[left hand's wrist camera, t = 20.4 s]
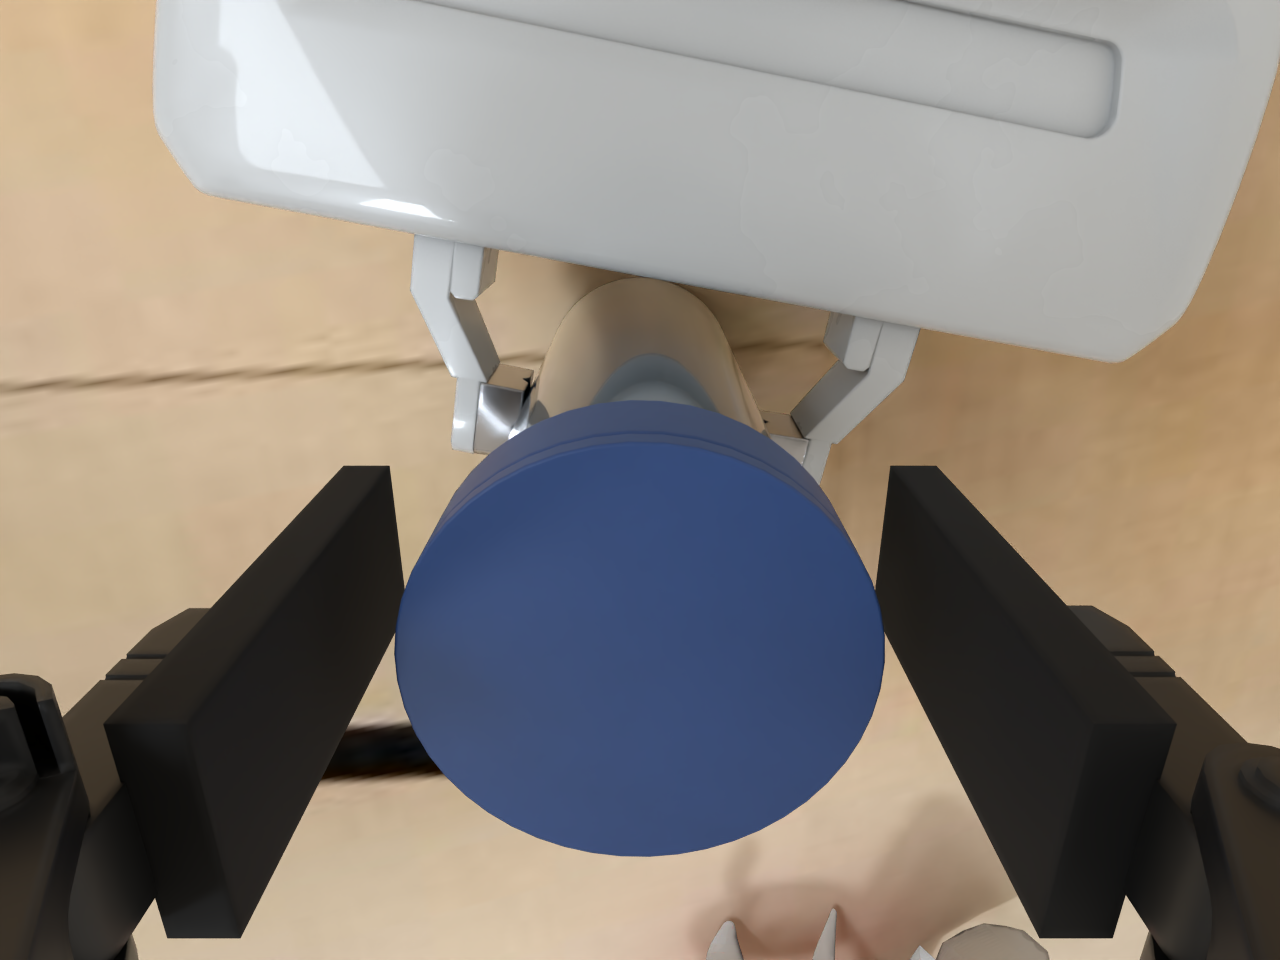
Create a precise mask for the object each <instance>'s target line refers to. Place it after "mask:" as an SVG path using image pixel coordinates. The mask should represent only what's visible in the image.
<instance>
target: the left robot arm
mask: <svg viewBox="0 0 1280 960" xmlns="http://www.w3.org/2000/svg"><path fill="white" fill-rule="evenodd" d="M404 591H405V588H404V580H403V572H402V564H401V555H400V547H399V539H398V531H397V523H396V515H395V507H394V498H393V490H392V482H391V474H390V466H343V467H342V468H341V469H340V470H339V471H338V473H337V474H336V475H335V476H334V477H333V478H332V479H331V480H330V481H329V482H328V483H327V484H326V485H325V486H324V488H323V489H322V490H321V491H320V492H319V493H318V494H317V495H316V496H315V497H314V498H313V499H312V500H311V501H310V503H309V504H308V505H307V506H306V507H305V508H304V509H303V510H302V511H301V512H300V513H299V514H298V515H297V516H296V517H295V519H294V520H293V521H292V522H291V523H290V524H289V525H288V526H287V527H286V528H285V529H284V530H283V531H282V532H281V534H280V535H279V536H278V537H277V538H276V539H275V540H274V541H273V542H272V543H271V544H270V545H269V546H268V547H267V549H266V550H265V551H264V552H263V553H262V554H261V555H260V556H259V557H258V558H257V559H256V560H255V561H254V562H253V564H252V565H251V566H250V567H249V568H248V569H247V570H246V571H245V572H244V573H243V574H242V575H241V576H240V577H239V579H238V580H237V581H236V582H235V583H234V584H233V585H232V586H231V587H230V588H229V589H228V590H227V591H226V592H225V594H224V595H223V596H222V597H221V598H220V599H219V600H218V601H217V602H216V603H215V604H214V605H213V606H212V607H211V608H189V609H187V610H185V611H183V612H182V613H180V614H178V615H176V616H175V617H173V618H171V619H169V620H168V621H166V622H164V623H162V624H161V625H159V626H157V627H155V628H154V629H152V630H151V631H150V632H149V633H148V634H147V635H146V636H145V637H144V638H143V639H142V640H141V641H140V642H139V643H138V644H137V645H136V646H135V647H133V648H132V649H131V650H130V651H129V652H128V653H127V658H126V659H121V660H120V661H119V662H118V663H117V664H116V665H115V666H114V667H113V668H112V669H111V670H110V671H109V672H108V673H107V674H106V679H105V680H100V681H99V682H98V683H97V684H96V685H95V686H94V687H93V688H92V689H91V690H90V691H89V692H88V693H87V694H86V695H85V696H84V697H83V698H82V699H81V700H80V701H79V702H78V703H77V704H76V705H75V706H74V707H73V708H72V709H71V710H70V711H69V712H68V713H66V714H65V715H64V716H63V717H62V715H61V712H60V709H59V706H58V703H57V700H56V697H55V694H54V691H53V688H52V685H51V684H50V683H48V682H47V681H45V680H43V679H42V678H40V677H39V676H33V675H24V674H15V673H14V674H5V675H0V960H139V959H138V953H137V948H136V945H135V942H134V939H133V936H132V932H133V931H134V929H135V928H136V926H137V925H138V923H139V922H140V920H141V919H142V917H143V915H144V914H145V912H146V911H147V909H148V908H149V906H150V905H151V903H152V902H153V900H154V898H155V899H156V902H157V905H158V909H159V912H160V915H161V919H162V922H163V925H164V929H165V932H166V935H167V938H241V936H242V934H243V932H244V930H245V928H246V926H247V924H248V922H249V920H250V918H251V916H252V914H253V912H254V910H255V908H256V906H257V904H258V903H259V901H260V899H261V897H262V895H263V893H264V891H265V889H266V887H267V885H268V883H269V881H270V879H271V877H272V875H273V873H274V871H275V869H276V867H277V865H278V863H279V861H280V859H281V857H282V855H283V853H284V851H285V849H286V847H287V845H288V843H289V841H290V839H291V837H292V835H293V833H294V831H295V829H296V827H297V825H298V823H299V821H300V820H301V818H302V816H303V814H304V812H305V810H306V808H307V806H308V804H309V802H310V800H311V798H312V796H313V794H314V792H315V790H316V788H317V786H318V784H319V782H320V780H321V778H322V776H323V774H324V772H325V770H326V768H327V766H328V764H329V762H330V760H331V758H332V756H333V754H334V752H335V750H336V748H337V746H338V744H339V742H340V740H341V738H342V736H343V735H344V733H345V731H346V729H347V727H348V725H349V723H350V721H351V719H352V717H353V715H354V713H355V711H356V709H357V707H358V705H359V703H360V701H361V699H362V697H363V695H364V693H365V691H366V689H367V687H368V685H369V683H370V681H371V679H372V677H373V675H374V673H375V671H376V669H377V667H378V665H379V663H380V661H381V659H382V657H383V655H384V653H385V652H386V650H387V648H388V646H389V644H390V642H391V640H392V638H393V636H394V634H395V630H396V622H397V617H398V613H399V608H400V603H401V598H402V596H403V593H404ZM875 592H876V595H877V599H878V602H879V605H880V608H881V614H882V621H883V627H884V632H885V634H886V636H887V638H888V640H889V642H890V644H891V646H892V648H893V650H894V652H895V653H896V655H897V657H898V659H899V661H900V663H901V665H902V667H903V669H904V671H905V673H906V675H907V677H908V679H909V681H910V683H911V685H912V687H913V689H914V691H915V693H916V695H917V697H918V699H919V701H920V703H921V705H922V707H923V709H924V711H925V713H926V715H927V717H928V719H929V721H930V723H931V725H932V727H933V729H934V731H935V733H936V735H937V736H938V738H939V740H940V742H941V744H942V746H943V748H944V750H945V752H946V754H947V756H948V758H949V760H950V762H951V764H952V766H953V768H954V770H955V772H956V774H957V776H958V778H959V780H960V782H961V784H962V786H963V788H964V790H965V792H966V794H967V796H968V798H969V800H970V802H971V804H972V806H973V808H974V810H975V812H976V814H977V816H978V818H979V820H980V821H981V823H982V825H983V827H984V829H985V831H986V833H987V835H988V837H989V839H990V841H991V843H992V845H993V847H994V849H995V851H996V853H997V855H998V857H999V859H1000V861H1001V863H1002V865H1003V867H1004V869H1005V871H1006V873H1007V875H1008V877H1009V879H1010V881H1011V883H1012V885H1013V887H1014V889H1015V891H1016V893H1017V895H1018V897H1019V899H1020V901H1021V903H1022V904H1023V906H1024V908H1025V910H1026V912H1027V914H1028V916H1029V918H1030V920H1031V922H1032V924H1033V926H1034V928H1035V930H1036V932H1037V934H1038V936H1039V938H1113V935H1114V932H1115V929H1116V925H1117V922H1118V919H1119V915H1120V912H1121V909H1122V905H1123V902H1124V899H1125V895H1126V896H1127V897H1128V899H1129V900H1130V902H1131V903H1132V905H1133V906H1134V908H1135V909H1136V911H1137V913H1138V914H1139V916H1140V917H1141V919H1142V920H1143V922H1144V923H1145V925H1146V926H1147V928H1148V929H1149V933H1148V936H1147V939H1146V942H1145V945H1144V948H1143V951H1142V954H1141V957H1140V960H1280V749H1279V748H1276V747H1272V746H1266V745H1259V744H1251V743H1247V742H1246V741H1245V740H1244V739H1243V738H1242V737H1241V736H1240V735H1239V734H1238V733H1237V732H1236V731H1235V730H1234V729H1233V728H1232V727H1231V726H1230V725H1229V724H1228V723H1227V722H1226V721H1225V720H1224V719H1223V718H1222V717H1221V716H1220V715H1219V714H1218V713H1217V712H1216V711H1215V710H1214V709H1213V708H1212V707H1211V706H1210V705H1209V704H1207V703H1206V702H1205V701H1204V700H1203V699H1202V698H1201V697H1200V696H1199V695H1198V694H1197V693H1196V692H1195V691H1194V690H1193V689H1192V688H1191V687H1190V686H1189V685H1188V684H1187V683H1186V682H1185V681H1184V680H1183V679H1182V678H1181V677H1176V676H1175V671H1174V670H1173V669H1172V668H1171V667H1170V666H1169V665H1168V664H1167V663H1166V662H1165V661H1164V660H1163V659H1161V658H1160V657H1159V656H1154V651H1153V650H1152V649H1151V648H1150V647H1149V646H1148V645H1147V644H1146V643H1145V642H1144V641H1143V640H1142V639H1141V638H1140V637H1139V636H1138V635H1137V634H1136V633H1135V632H1134V631H1133V630H1132V629H1131V628H1130V627H1129V626H1127V625H1125V624H1123V623H1122V622H1120V621H1118V620H1116V619H1115V618H1113V617H1111V616H1109V615H1107V614H1106V613H1104V612H1102V611H1100V610H1099V609H1097V608H1095V607H1093V606H1067V605H1066V604H1065V603H1064V602H1063V601H1062V600H1061V599H1060V598H1059V597H1058V596H1057V595H1056V594H1055V592H1054V591H1053V590H1052V589H1051V588H1050V587H1049V586H1048V585H1047V584H1046V583H1045V582H1044V581H1043V580H1042V579H1041V577H1040V576H1039V575H1038V574H1037V573H1036V572H1035V571H1034V570H1033V569H1032V568H1031V567H1030V566H1029V565H1028V564H1027V562H1026V561H1025V560H1024V559H1023V558H1022V557H1021V556H1020V555H1019V554H1018V553H1017V552H1016V551H1015V550H1014V549H1013V547H1012V546H1011V545H1010V544H1009V543H1008V542H1007V541H1006V540H1005V539H1004V538H1003V537H1002V536H1001V535H1000V534H999V532H998V531H997V530H996V529H995V528H994V527H993V526H992V525H991V524H990V523H989V522H988V521H987V520H986V519H985V517H984V516H983V515H982V514H981V513H980V512H979V511H978V510H977V509H976V508H975V507H974V506H973V505H972V504H971V503H970V501H969V500H968V499H967V498H966V497H965V496H964V495H963V494H962V493H961V492H960V491H959V490H958V489H957V488H956V486H955V485H954V484H953V483H952V482H951V481H950V480H949V479H948V478H947V477H946V476H945V475H944V474H943V473H942V471H941V470H940V469H939V468H938V467H937V466H890V474H889V482H888V490H887V498H886V507H885V515H884V523H883V531H882V539H881V547H880V555H879V564H878V572H877V580H876V588H875Z"/></svg>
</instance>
